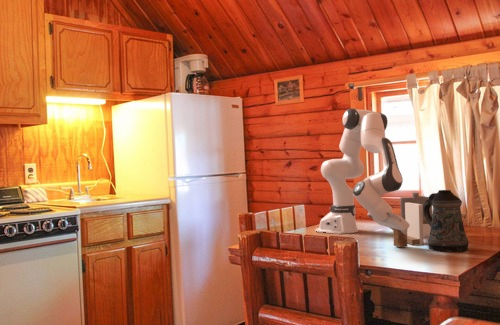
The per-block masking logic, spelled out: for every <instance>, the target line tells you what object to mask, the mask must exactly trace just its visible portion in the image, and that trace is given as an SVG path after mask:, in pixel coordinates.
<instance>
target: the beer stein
mask: <svg viewBox="0 0 500 325" xmlns="http://www.w3.org/2000/svg"><path fill="white" fill-rule="evenodd" d="M428 197H429V200H426V201H425V202H424V205H423V214H424V217H425V219H426V221H427V222H428V224H429V225H430V226H431V230H430V235H429V236H428V238H427V245H428V249H429V250H430V251H433V252H439V253H451V252H452V253H453V254H454V252H455V253H456V252H457V253H465V252H467V251H469V244H470V241H469V239H468V237H467V234H466V231H465V226H464V222H463V220H464V219H463V218H462V214H461V213H462V209H461V208H462V204H463V200H461V198H460V197H458V196H457V195H455V194H454V193H453V191H452V190H451V189H440V190H438V192H435V193H433V192H432V193H431V194H429V196H428ZM430 206H432V217H431V215H430V211H429V210H430Z"/></svg>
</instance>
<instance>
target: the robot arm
mask: <svg viewBox="0 0 500 325" xmlns="http://www.w3.org/2000/svg"><path fill="white" fill-rule="evenodd" d="M342 127H344V130H343V133H342V136H341V139H340V141H339V146H338V147H339V149H340V151H341V153H342V154H343V156H342V158H332V159H328V160H325V161H323V162H322V164H321V166H320V173H321V175H322V177H323V178H324V179H325V180H326V181H327V182H328V183H329V185H330V187H331V191H332V204H331V206H329V207H328V208H329V212H328V213H327V214H326V215H325V216H324V217H322V218H321V219H320V221H319V227H317V228H315V232H316V231H317V232H316V233H323V232H326V234H336V235H343V234H353V233H354V234H355V233H358V232H359V229H358V227H357V226H358V225H357V222H356V214H357V213H356V204H355V200H356V201H357V203H359V205H360V206H361V207H363V209H365V210H366V211H367V214H366V215H367V216H368V218H370V219H372V220H373V221H374V222H376V223H377V224H378V225H380V226H381V227H386V228H389V229H391V230H392V231H393V228H394V229H398V230H401V233H402V234H404V235H406V234H407V231H406V230H407V229H408V228H409V226H410V225H409V223H408V222H407V221H406V220H405V219H404V218H402V217H401V214H398V213H395V212H393V208H392V206H391V205H390V204H389V203H388V202H387V201H386V200H385V199H384V198H382V196H383V195H386V194H389V193H392V192H396V191H399V190H400V189H401V187H402V185H403V180H404V179H403V175H402V174H401V172H400V168H399V166H398V160H397V157H396V154H395V153H396V152H395V148H394V147H393V144H392V141H391V139H389V138H387V137H386V129H387V127H388V117H387V115H386V114H385V113H382V112H378V111H373V110H368V109H356V108H347V109H346V110H345V111H344V114H343V115H342ZM362 148H363V149H364V150H365V151H366V152H369V153H372V154H381V156H382V160H383V163H384V168H383V169H382V170H381V171H379V172H377V173H375V174H372V175H369V176H366V177H365V178H364V179H363V180H360V181H358V182H357V183H356V184H355V185H354V186H353V188H352V187H350V186H349V185H348V184H347V181H346V180H349V179H350V180H353V179H357V178H359V177H361V176H362V175H363V174H364V173H365V165H364V162H363V161H362V160H361V157H360V155H361V150H362Z"/></svg>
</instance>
